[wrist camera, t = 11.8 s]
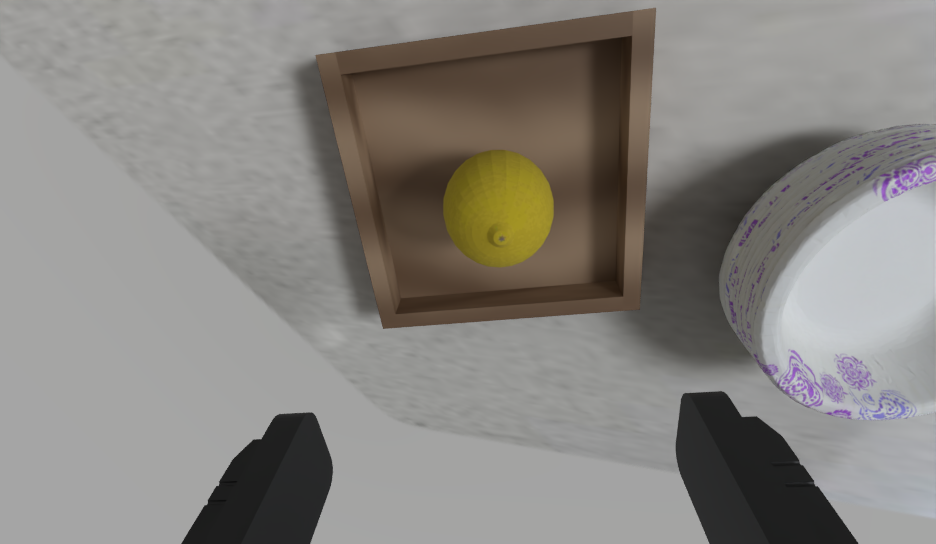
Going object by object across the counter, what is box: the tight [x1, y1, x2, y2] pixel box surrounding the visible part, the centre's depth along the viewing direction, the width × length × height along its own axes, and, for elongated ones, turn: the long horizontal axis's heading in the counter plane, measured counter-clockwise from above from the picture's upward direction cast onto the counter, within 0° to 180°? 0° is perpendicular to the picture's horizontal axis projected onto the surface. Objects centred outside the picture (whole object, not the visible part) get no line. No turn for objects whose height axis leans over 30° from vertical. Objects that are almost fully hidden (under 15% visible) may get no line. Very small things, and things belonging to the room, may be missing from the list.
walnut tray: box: [316, 8, 656, 329], centre depth 26 cm, size 16×16×3 cm
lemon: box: [443, 150, 554, 268], centre depth 23 cm, size 6×6×8 cm
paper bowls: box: [719, 124, 936, 420], centre depth 25 cm, size 15×15×8 cm
